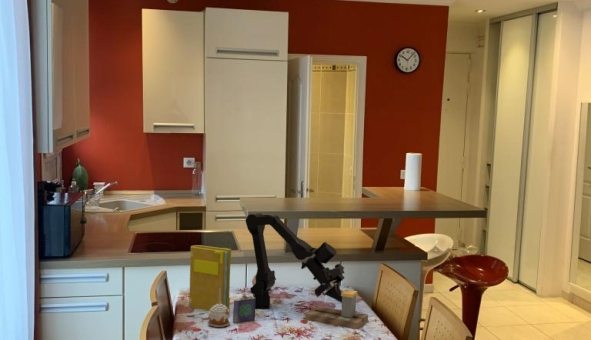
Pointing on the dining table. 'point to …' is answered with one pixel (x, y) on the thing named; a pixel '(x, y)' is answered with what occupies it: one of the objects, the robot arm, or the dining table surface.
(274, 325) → the dining table surface
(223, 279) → the book
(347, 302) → the switch handle
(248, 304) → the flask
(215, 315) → the candy apple
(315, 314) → the wooden slotted board
